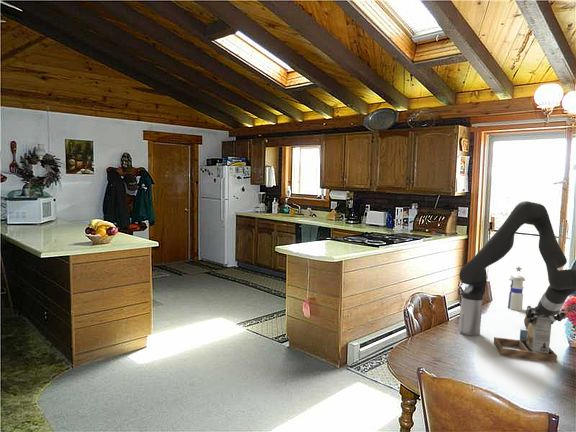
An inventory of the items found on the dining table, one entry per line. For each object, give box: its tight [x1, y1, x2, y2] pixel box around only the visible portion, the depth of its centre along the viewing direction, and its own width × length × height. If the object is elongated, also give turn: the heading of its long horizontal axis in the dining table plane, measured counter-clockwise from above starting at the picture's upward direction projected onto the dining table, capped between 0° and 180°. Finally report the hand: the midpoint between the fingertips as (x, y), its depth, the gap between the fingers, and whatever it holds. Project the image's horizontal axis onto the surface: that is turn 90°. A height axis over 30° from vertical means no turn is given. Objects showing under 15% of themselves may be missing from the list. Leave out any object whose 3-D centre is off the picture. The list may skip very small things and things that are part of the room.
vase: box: [523, 316, 528, 329], centre depth 213 cm, size 7×7×9 cm
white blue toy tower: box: [507, 266, 526, 312], centre depth 248 cm, size 8×9×25 cm
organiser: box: [493, 328, 558, 364], centre depth 181 cm, size 21×14×8 cm, turn 75°
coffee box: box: [526, 317, 552, 354], centre depth 179 cm, size 9×6×16 cm
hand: (539, 322), depth 178 cm, fingers closed on coffee box, 6 cm apart
